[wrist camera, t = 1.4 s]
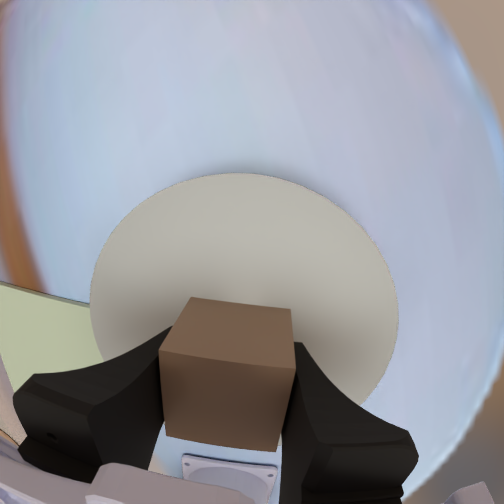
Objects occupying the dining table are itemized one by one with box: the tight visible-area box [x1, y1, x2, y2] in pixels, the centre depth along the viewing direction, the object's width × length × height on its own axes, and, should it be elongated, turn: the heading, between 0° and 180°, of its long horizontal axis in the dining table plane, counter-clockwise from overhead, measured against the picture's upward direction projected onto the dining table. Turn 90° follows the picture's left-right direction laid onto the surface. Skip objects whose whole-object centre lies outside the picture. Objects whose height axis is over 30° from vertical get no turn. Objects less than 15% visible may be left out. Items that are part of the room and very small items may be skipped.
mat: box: [0, 281, 104, 393], centre depth 20 cm, size 14×14×1 cm
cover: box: [90, 173, 398, 452], centre depth 11 cm, size 14×14×5 cm
